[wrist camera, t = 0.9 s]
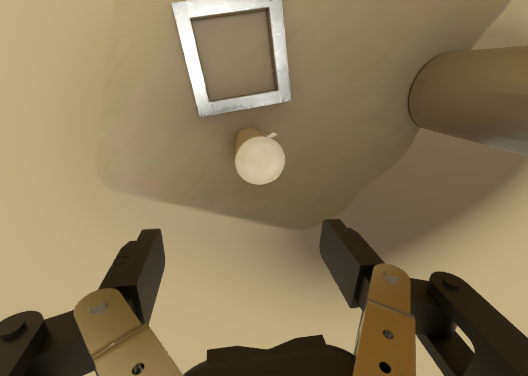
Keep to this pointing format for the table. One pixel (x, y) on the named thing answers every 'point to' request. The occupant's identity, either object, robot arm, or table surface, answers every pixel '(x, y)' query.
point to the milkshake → (258, 157)
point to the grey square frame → (200, 7)
